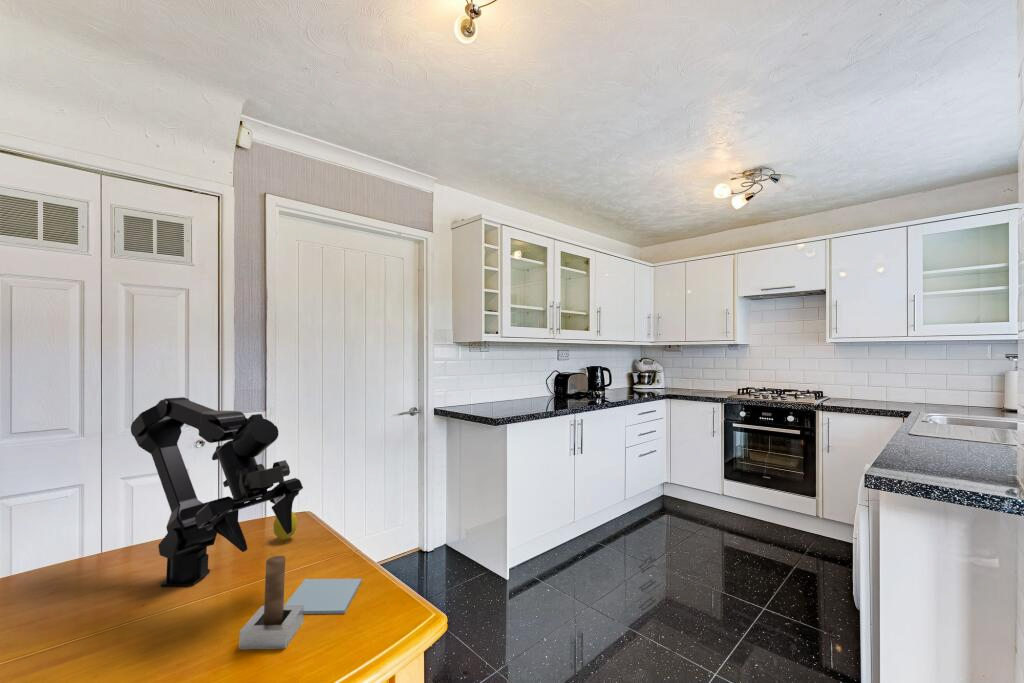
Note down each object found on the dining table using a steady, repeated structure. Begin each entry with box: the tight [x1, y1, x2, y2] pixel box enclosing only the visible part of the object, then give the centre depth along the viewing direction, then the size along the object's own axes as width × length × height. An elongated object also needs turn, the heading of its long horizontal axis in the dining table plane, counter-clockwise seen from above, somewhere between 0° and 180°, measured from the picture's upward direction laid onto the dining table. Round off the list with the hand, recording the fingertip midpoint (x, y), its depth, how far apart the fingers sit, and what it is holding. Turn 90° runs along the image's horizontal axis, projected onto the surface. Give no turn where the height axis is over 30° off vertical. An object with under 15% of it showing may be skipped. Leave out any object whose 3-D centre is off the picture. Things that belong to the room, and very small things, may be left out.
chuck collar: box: [238, 604, 305, 650], centre depth 78 cm, size 8×8×3 cm
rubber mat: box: [284, 578, 363, 615], centre depth 90 cm, size 12×12×1 cm
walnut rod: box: [263, 555, 286, 625], centre depth 78 cm, size 3×3×13 cm
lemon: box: [273, 511, 298, 541], centre depth 117 cm, size 6×6×8 cm
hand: (268, 541), depth 85 cm, fingers open, 9 cm apart
